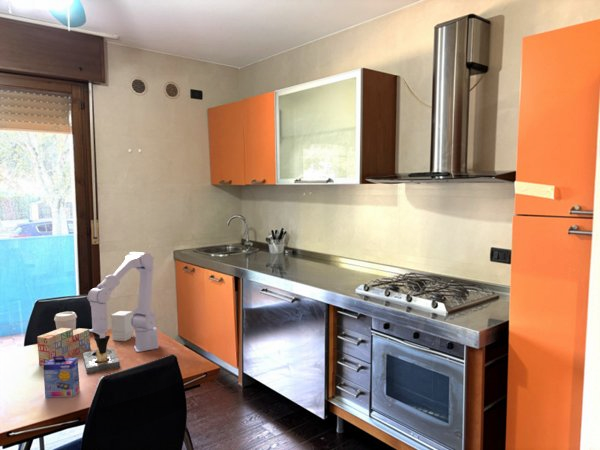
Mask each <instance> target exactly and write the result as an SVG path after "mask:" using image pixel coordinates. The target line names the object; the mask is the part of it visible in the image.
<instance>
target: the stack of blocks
mask: <svg viewBox="0 0 600 450" xmlns="http://www.w3.org/2000/svg"><path fill="white" fill-rule="evenodd" d="M89 330H90V328H80V327H79V328H76V329H75V330H73V329H69V328H60V329H55V330H52V331H49V332H47V333H44V334H41V335H38V336H36V337H37V353H38V365H39V366H43V364H44V363H46V362H47V361H48V360H49V359H54V358H53V356H64V358H65V359H66V358H74V356H77V355H80V354H83V353H85V352H88V350H91V335H90V331H89ZM56 359H59V358H56ZM61 359H63V358H61Z"/></svg>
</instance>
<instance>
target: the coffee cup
mask: <svg viewBox="0 0 600 450" xmlns="http://www.w3.org/2000/svg"><path fill="white" fill-rule="evenodd" d="M77 318H78V316H77V313H76V312H74V311H63V312H59V313H56V314H55V315H54V319H53V321H54V322H55V327H56V329H55V330H57V329H60V328H69V329H73V330H75V329H77V328H76V327H77Z"/></svg>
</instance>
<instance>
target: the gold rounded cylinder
mask: <svg viewBox="0 0 600 450" xmlns="http://www.w3.org/2000/svg"><path fill="white" fill-rule="evenodd" d="M95 351H96V355H97V363H99V364H100V363H105V362H108V359H107V348H106V353H103V354H100V353H99V349H98V348H97V349H96V350H95Z"/></svg>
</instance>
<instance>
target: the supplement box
mask: <svg viewBox="0 0 600 450" xmlns="http://www.w3.org/2000/svg"><path fill="white" fill-rule="evenodd" d="M132 316H133V311H128V310H127V311H125V310H119V311H117V312H114V313H112V314H111V315H110V317H111V318H110V319H111V320H110V322H111V334H112V335H111V337H112V341H116V342H117V341H120V342H121V341H122V342H126V341H128V340H130V339H132V338H134V337H135V329H134V327H133V326H132V325H131V318H132ZM133 336H134V337H133ZM131 337H132V338H131Z"/></svg>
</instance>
